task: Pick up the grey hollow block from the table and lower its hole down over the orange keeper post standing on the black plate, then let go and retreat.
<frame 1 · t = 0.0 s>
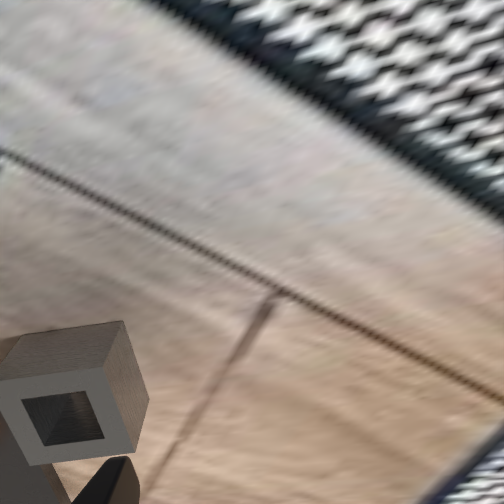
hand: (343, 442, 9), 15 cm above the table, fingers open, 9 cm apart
grey hollow block: (88, 368, 26), on the table
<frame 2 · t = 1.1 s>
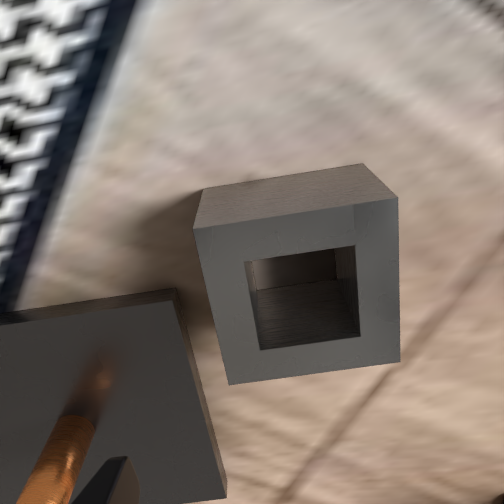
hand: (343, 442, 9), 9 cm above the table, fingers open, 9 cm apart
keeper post: (82, 412, 21), on the table
grey hollow block: (291, 248, 18), on the table
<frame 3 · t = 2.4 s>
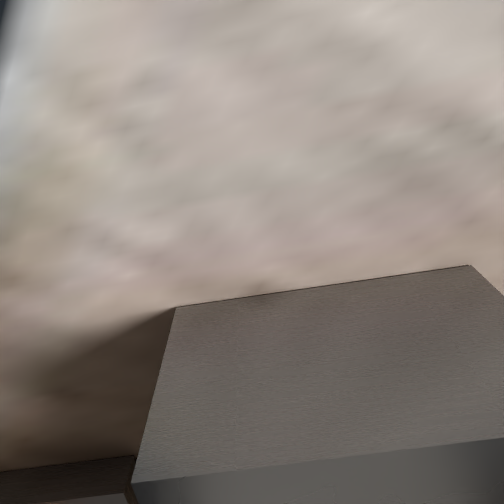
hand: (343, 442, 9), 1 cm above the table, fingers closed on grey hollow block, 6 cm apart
grey hollow block: (332, 398, 10), on the table, touching gripper
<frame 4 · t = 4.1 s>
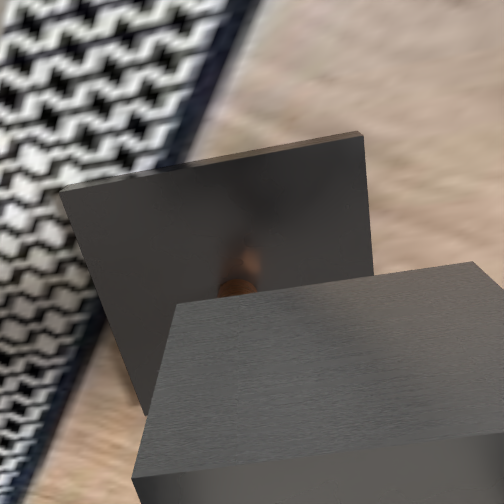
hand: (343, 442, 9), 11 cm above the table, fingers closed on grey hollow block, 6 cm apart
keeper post: (238, 285, 20), on the table
grey hollow block: (333, 395, 10), point 10 cm above the table, touching gripper
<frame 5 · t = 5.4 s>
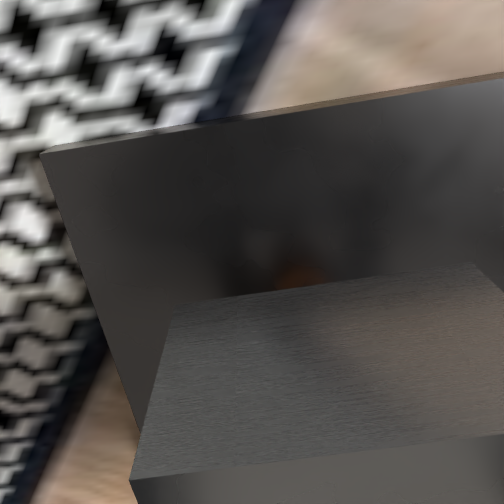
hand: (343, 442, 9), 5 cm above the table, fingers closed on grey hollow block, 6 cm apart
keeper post: (305, 305, 14), on the table
grey hollow block: (332, 396, 10), point 4 cm above the table, touching gripper
when the fingers open (3 cm above the table, at t = 6.2 s): grey hollow block drops 1 cm, resting on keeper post.
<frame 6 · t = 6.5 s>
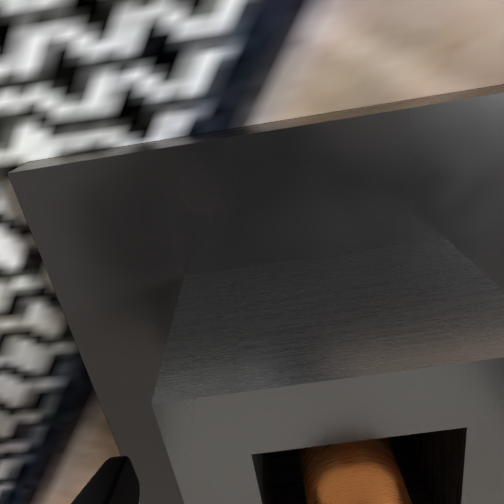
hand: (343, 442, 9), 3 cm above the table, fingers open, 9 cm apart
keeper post: (316, 339, 12), on the table
grey hollow block: (323, 360, 11), point 1 cm above the table, touching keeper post
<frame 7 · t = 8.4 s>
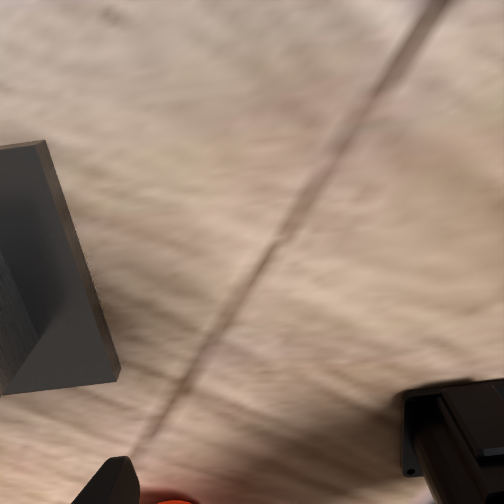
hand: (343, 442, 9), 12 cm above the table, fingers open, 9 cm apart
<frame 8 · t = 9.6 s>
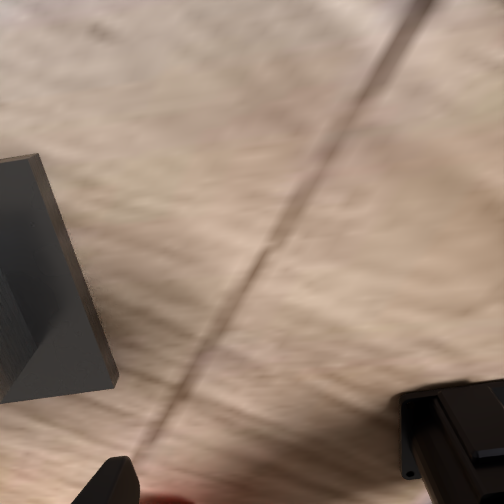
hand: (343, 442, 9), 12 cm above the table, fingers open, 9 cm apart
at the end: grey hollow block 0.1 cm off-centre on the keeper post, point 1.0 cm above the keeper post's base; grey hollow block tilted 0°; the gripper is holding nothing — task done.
